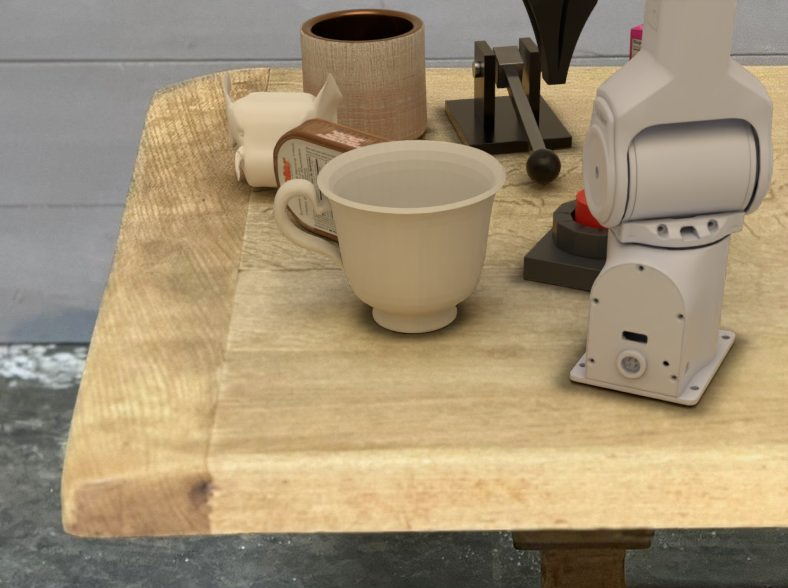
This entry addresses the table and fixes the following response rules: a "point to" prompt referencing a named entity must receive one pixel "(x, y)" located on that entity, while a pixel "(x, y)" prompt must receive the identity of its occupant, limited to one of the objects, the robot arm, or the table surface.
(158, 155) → the table surface
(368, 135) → the tin
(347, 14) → the planter
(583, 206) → the button
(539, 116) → the bracket
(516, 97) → the lever
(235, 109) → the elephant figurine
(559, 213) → the button box
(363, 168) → the teacup
